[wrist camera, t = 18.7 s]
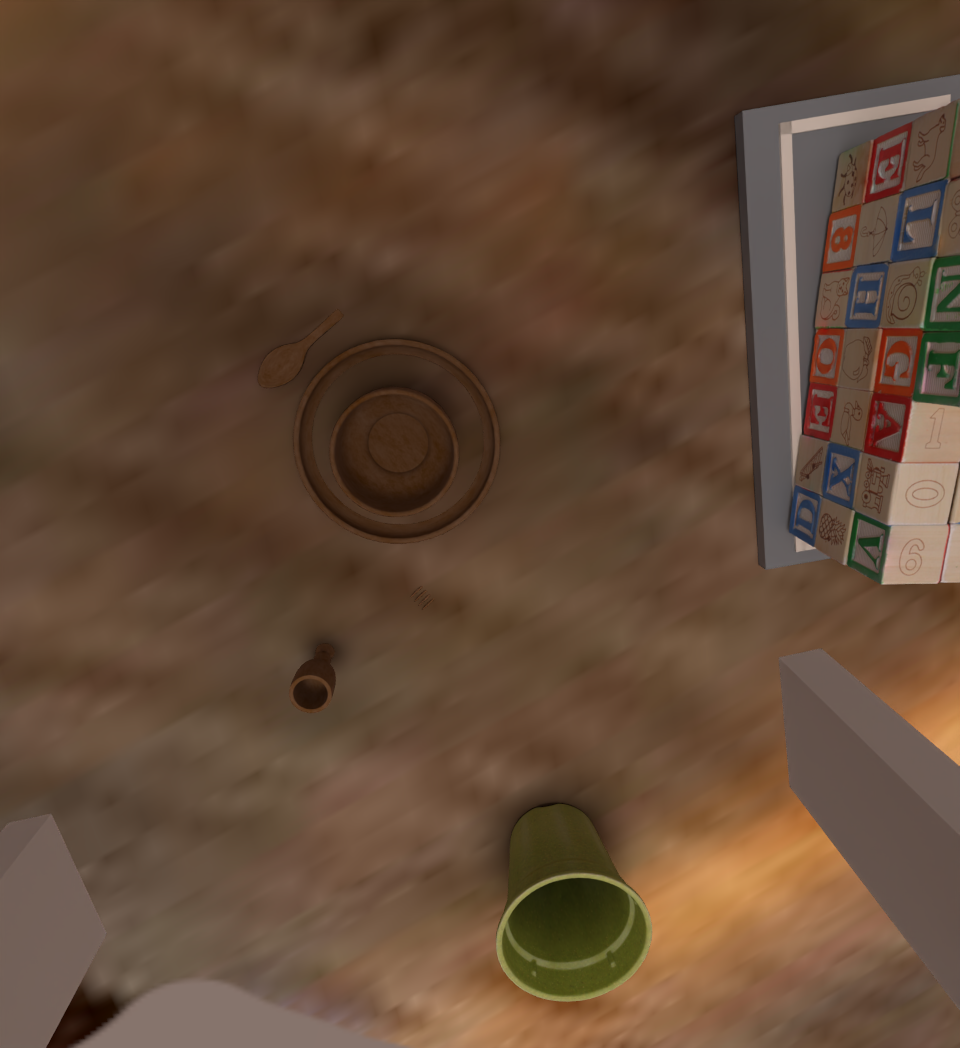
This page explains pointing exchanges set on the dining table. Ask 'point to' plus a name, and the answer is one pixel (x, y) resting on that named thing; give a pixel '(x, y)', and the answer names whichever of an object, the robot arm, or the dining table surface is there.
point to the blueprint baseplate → (797, 268)
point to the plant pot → (568, 910)
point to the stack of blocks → (888, 362)
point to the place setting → (380, 462)
